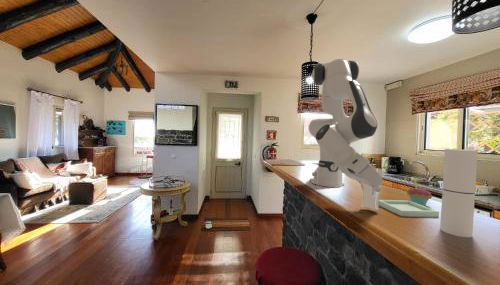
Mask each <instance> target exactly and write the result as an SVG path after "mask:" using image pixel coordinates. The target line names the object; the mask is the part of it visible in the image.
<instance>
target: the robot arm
mask: <svg viewBox="0 0 500 285" xmlns="http://www.w3.org/2000/svg"><path fill="white" fill-rule="evenodd" d="M359 74H360V66H359V63H358V62H357V61H355V60H344V59H341V58H337V59H334V60H332V61H331V62H330V61H329V62H325V63H318V64H316V65H315V66H313V69H312V73H311V76H312V78H311V79H312V80H313V83H314V84H315V85H319V86H322V88H321V89H322V90H321V109H322V111H323V112H324V113H327V114H328V115H330V116H332V118H315V119H311V121H309V124H308V132H309V133H310V135H311V136H312V137H313V138H314V139H315V141H316V143H317V145H318V147H319V160H318V164H317V166H318V167H317V168H316V169H315V170H314V171H313V172H312V173H311V176H312V178H309V181H310V180H311V181H310V182H311V184H312V183H313V184H312V185H315V184H316V186H321V187H330V188H340V187H343V186H345V183H344V182H343V174H344V175H345V176H346V177H347V178H349V179H351V180H355V181H356V182H357V183H359V184H360V185H361V182H362V183H364V184H367V185H370V186H372V187H373V190H374V191H375V192H379V193H380V192H381V191H382V188H380V187H379V185H380V184H381V185H382V184H383V183H384V180H383V177H382V175H381V176H380V175H379V173H378V172H377V171H376V170H375V169H374V168H375V167H374V166H373V165H372V164H370V163H371V161H370V159H369V158H368V157H366V156H363V155H362V154H360V153H359V152H358V151H356V150H355V149H354V148H353V147H352V146H351V144H354V143H355V142H357V141H359V140H362V139H363V140H364V139H367V138H370V137H373V136H374V134H376V131H377V129H378V121H377V118H376V117H375V115H374V113H373V112H372V109H371V107H370V105H369V102H368V99H367V97H366V94H365V92H364V90H363V87H362V86H361V84H360V83H359V82H358V81H357V80H358V77H359ZM349 99H350V102H351V103H352V108H353V112H352V113H351V114H350V115H349V116H348V115H347V114H346V113H345V109H344V101H345V100H349Z"/></svg>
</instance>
